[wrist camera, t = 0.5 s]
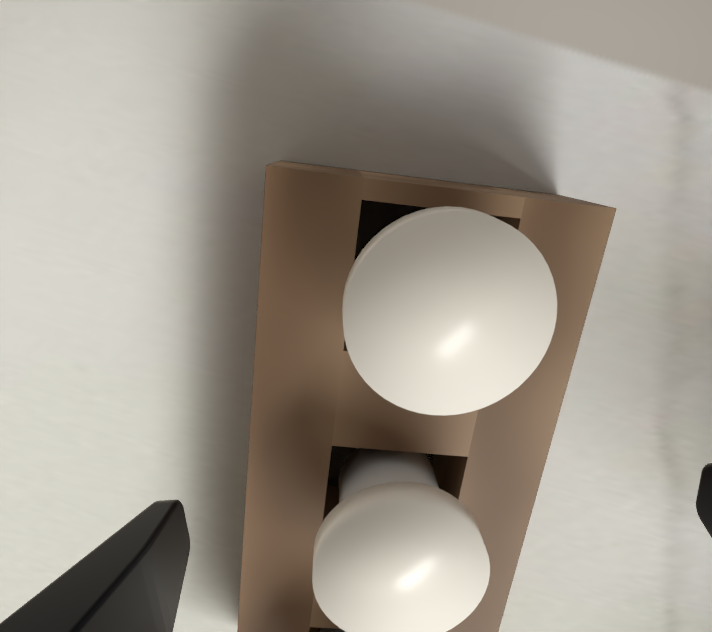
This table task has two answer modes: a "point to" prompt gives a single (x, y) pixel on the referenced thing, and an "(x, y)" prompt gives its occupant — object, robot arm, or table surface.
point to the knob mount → (370, 410)
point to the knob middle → (397, 549)
